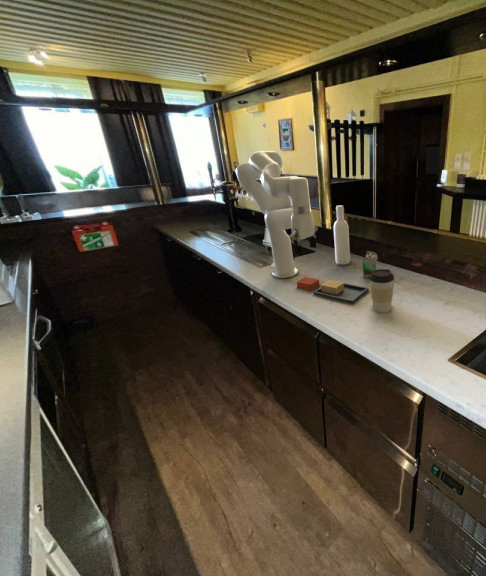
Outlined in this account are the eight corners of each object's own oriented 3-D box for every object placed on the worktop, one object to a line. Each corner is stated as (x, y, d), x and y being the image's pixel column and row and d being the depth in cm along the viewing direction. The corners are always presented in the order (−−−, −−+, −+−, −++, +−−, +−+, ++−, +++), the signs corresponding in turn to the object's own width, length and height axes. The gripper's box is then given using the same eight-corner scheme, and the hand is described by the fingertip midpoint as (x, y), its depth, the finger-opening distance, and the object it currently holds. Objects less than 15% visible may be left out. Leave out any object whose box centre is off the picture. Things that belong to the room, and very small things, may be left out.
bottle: (333, 264, 161) (329, 207, 149) (339, 259, 168) (335, 204, 155) (347, 265, 159) (343, 207, 146) (352, 260, 165) (350, 204, 152)
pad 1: (297, 288, 135) (296, 281, 134) (305, 283, 140) (304, 276, 139) (311, 291, 131) (310, 284, 130) (319, 286, 136) (318, 279, 135)
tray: (313, 295, 128) (313, 291, 127) (331, 283, 138) (331, 280, 137) (352, 304, 118) (352, 301, 118) (368, 291, 129) (368, 287, 128)
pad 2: (321, 291, 130) (320, 284, 129) (328, 286, 134) (328, 279, 133) (336, 295, 126) (335, 288, 125) (344, 289, 131) (343, 282, 129)
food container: (376, 279, 140) (375, 259, 136) (363, 279, 141) (362, 259, 137) (379, 270, 151) (379, 251, 146) (367, 269, 152) (366, 250, 148)
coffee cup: (378, 316, 110) (377, 278, 103) (365, 306, 117) (364, 270, 111) (398, 309, 113) (399, 272, 107) (385, 300, 121) (385, 265, 114)
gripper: (307, 206, 130) (311, 244, 137) (279, 213, 117) (286, 255, 124) (321, 206, 127) (325, 246, 134) (294, 214, 113) (300, 257, 120)
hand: (306, 250), depth 129 cm, fingers open, 9 cm apart
